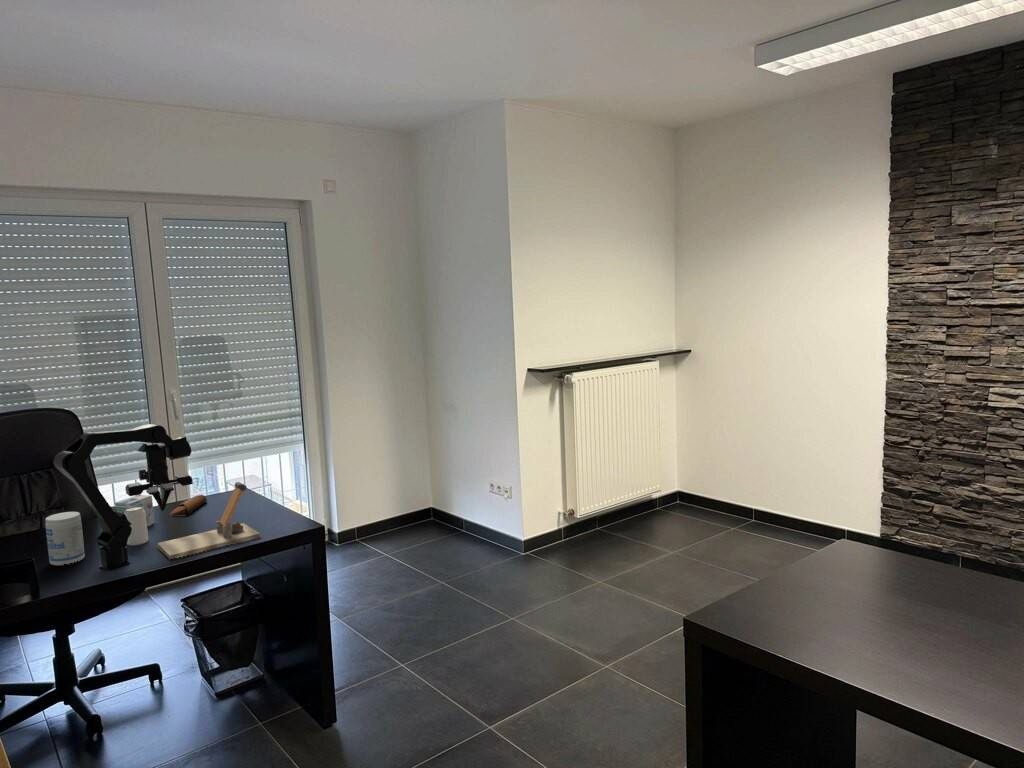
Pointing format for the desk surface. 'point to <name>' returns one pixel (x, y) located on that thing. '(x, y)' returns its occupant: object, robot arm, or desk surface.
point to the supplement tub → (64, 538)
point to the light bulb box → (138, 501)
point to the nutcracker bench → (208, 540)
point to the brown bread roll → (189, 505)
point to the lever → (232, 503)
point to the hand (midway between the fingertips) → (162, 510)
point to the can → (137, 525)
